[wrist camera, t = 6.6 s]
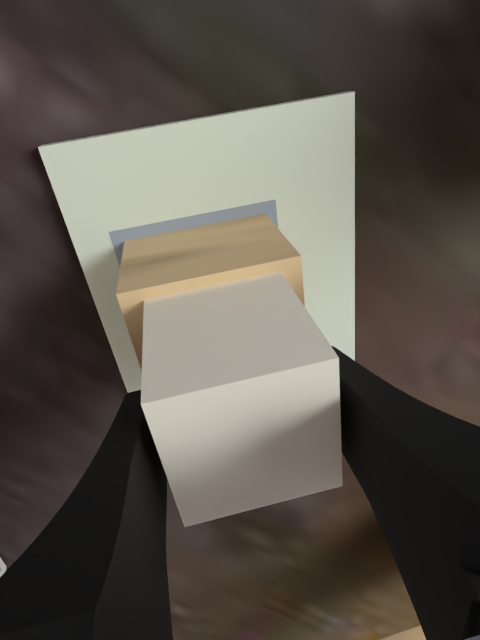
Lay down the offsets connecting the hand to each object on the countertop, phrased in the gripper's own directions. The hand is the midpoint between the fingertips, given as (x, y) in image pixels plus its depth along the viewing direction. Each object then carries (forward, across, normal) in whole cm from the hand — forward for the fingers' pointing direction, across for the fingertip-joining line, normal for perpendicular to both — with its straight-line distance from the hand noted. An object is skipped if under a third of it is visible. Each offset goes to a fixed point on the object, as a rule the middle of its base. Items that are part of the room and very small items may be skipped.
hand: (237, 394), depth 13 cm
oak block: (+7, 0, 0) cm, 7 cm away
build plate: (+8, -1, +2) cm, 8 cm away
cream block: (+2, 0, 0) cm, 2 cm away
